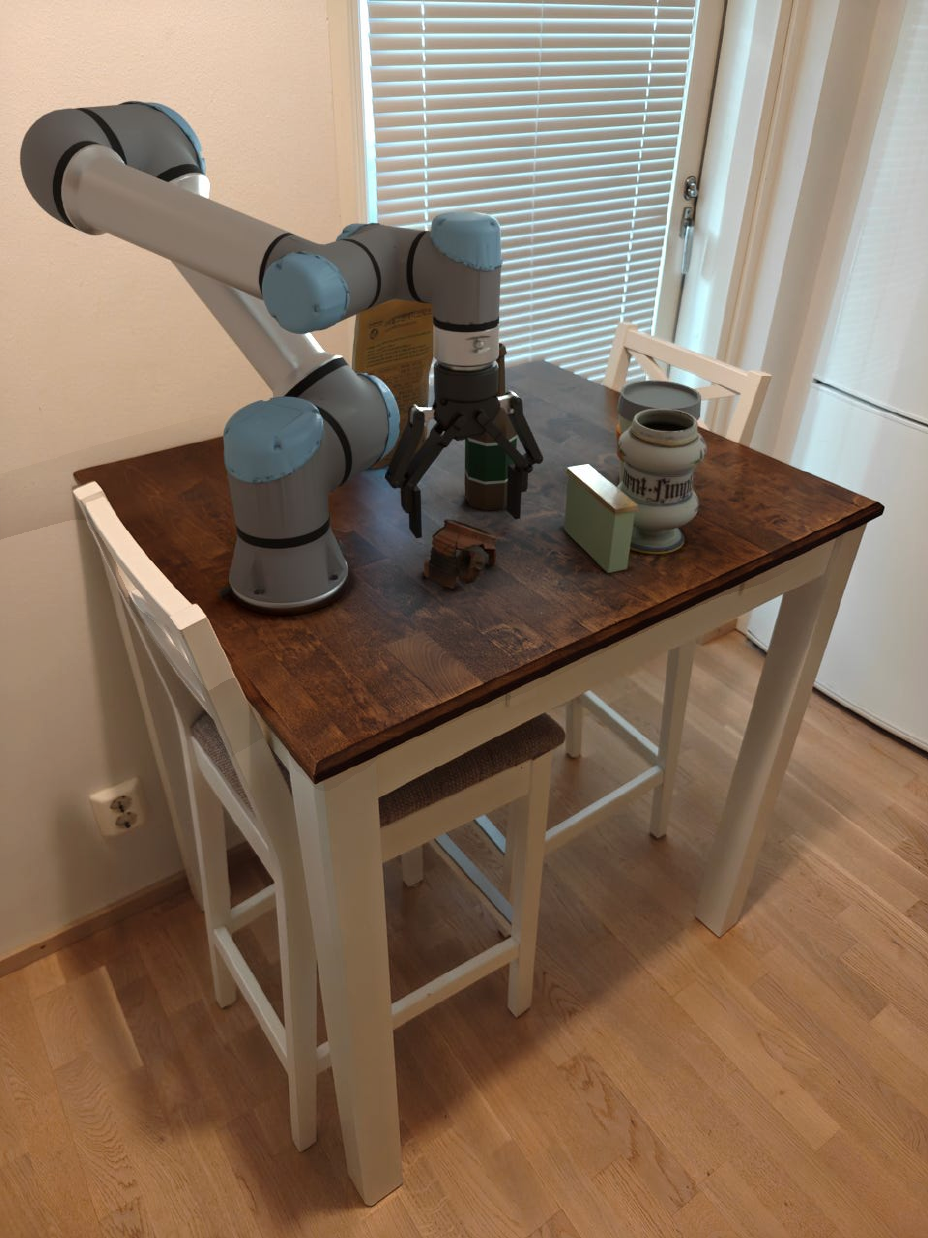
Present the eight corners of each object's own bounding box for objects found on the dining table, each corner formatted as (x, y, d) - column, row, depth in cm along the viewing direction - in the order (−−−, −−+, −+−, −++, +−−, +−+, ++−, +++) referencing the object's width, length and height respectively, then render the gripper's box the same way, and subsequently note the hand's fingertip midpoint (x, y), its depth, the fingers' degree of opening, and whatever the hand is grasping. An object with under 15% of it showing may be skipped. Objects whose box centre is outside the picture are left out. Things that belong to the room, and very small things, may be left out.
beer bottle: (509, 514, 133) (517, 355, 120) (459, 508, 134) (460, 351, 121) (517, 491, 140) (525, 338, 126) (469, 486, 141) (471, 334, 127)
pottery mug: (408, 568, 121) (428, 511, 120) (467, 585, 125) (487, 529, 124) (443, 591, 111) (465, 529, 109) (506, 609, 115) (527, 548, 114)
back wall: (607, 574, 119) (615, 509, 114) (561, 529, 130) (567, 467, 124) (629, 569, 121) (638, 504, 115) (582, 525, 131) (588, 463, 125)
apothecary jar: (591, 526, 130) (604, 409, 120) (660, 511, 134) (678, 397, 124) (636, 565, 121) (654, 442, 111) (709, 548, 125) (732, 428, 115)
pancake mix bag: (453, 446, 153) (453, 278, 137) (367, 479, 142) (357, 300, 126) (426, 435, 157) (424, 270, 141) (341, 466, 146) (328, 291, 130)
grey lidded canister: (702, 497, 139) (718, 405, 130) (628, 506, 136) (640, 413, 127) (665, 464, 149) (678, 376, 140) (595, 472, 146) (605, 383, 137)
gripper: (371, 384, 95) (381, 555, 107) (577, 357, 103) (565, 519, 115) (352, 363, 101) (363, 527, 113) (548, 339, 109) (539, 495, 121)
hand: (465, 523), depth 114 cm, fingers open, 13 cm apart
